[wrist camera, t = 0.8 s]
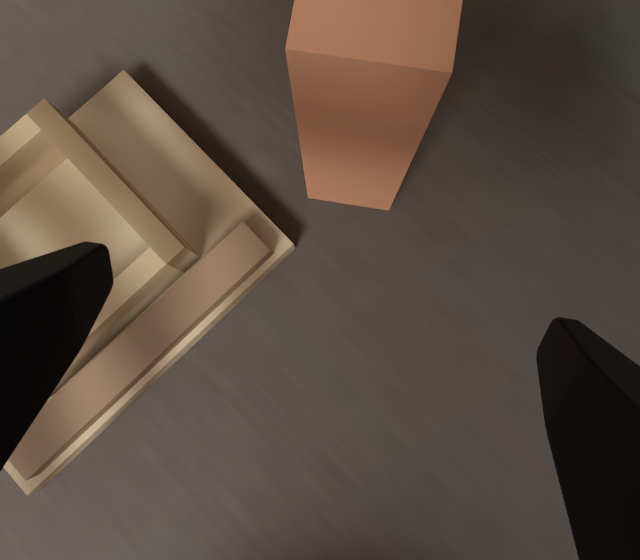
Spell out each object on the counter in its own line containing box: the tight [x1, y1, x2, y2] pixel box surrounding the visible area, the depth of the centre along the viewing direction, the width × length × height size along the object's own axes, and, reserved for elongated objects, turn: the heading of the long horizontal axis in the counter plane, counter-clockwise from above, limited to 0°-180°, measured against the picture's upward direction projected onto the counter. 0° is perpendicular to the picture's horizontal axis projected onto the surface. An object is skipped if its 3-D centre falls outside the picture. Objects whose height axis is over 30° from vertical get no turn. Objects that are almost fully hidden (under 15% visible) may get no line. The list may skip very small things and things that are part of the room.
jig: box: [0, 70, 295, 496], centre depth 21 cm, size 16×12×4 cm
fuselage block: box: [285, 0, 463, 211], centre depth 17 cm, size 4×4×12 cm
